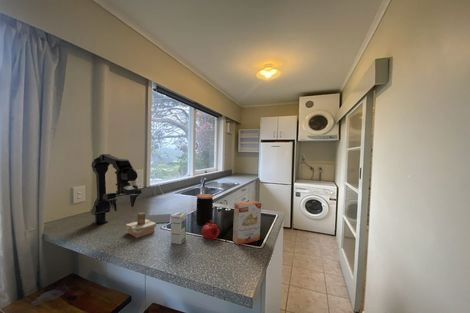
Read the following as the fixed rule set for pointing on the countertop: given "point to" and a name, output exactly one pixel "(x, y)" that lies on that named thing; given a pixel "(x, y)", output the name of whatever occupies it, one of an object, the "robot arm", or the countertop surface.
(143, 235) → the storage box
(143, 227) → the lid
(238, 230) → the cracker box
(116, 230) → the countertop surface
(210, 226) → the pomegranate
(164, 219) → the mat
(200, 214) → the coffee jar
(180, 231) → the syrup box
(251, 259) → the countertop surface
